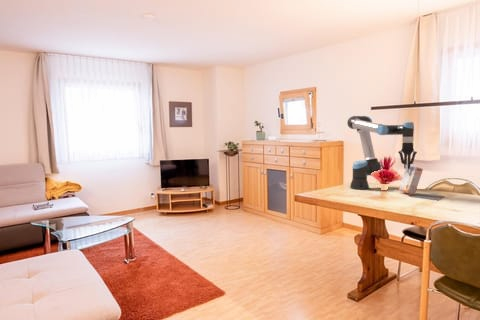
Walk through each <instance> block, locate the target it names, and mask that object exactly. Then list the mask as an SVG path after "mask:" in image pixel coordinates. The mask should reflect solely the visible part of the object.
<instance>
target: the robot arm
mask: <svg viewBox="0 0 480 320" xmlns="http://www.w3.org/2000/svg"><path fill="white" fill-rule="evenodd" d="M346 122H347V123H346V124H347V126H348V127H349V128H350V129H352V130H356V132H357V133H358V134H359V138H360V142H361V147H362V153H363V156H364V157H363V158H364V160H357V161H354V162H353V163H352V179H351V182H350V185H349V186H350V187H349V188H350V189H352V190H361V191H362V190H363V191H364V190H365V191H366V190H369V189H370V185H369V182H368V177H369V176H372V175H371V173H372V172H374V171H378V170H381V169H382V170H383V167H382V168H381V165H380V163H381V162H380V161H379V159H378V158H377V157H376V154H375V151H374V145H373V142H372V137H371V133H375V134H378V135H379V136H393V135H395V136H396V135H397V136H398V135H400V136H401V135H402V141H401V142H402V143H401V146H402V147H401V149H400V150H398V153H399V157H400V162H401V165H402V164H403V169H405V170H404V173H409V169H410V166H411V165H413V164H414V162H415V157H416V155H417V153H418V151H416V150H415V149H414V139H415V138H414V134H415V132H414V130H415V124H414V122H413V121H404V122H403V123H402V124H394V125H393V124H392V125H390V124H382V123H376V122H373V120H372V119H371V117H369V116H367V115H353V116H350V117H348V119H347V121H346Z"/></svg>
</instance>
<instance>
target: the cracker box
mask: <svg viewBox="0 0 480 320" xmlns="http://www.w3.org/2000/svg"><path fill="white" fill-rule="evenodd" d="M423 171H424V168H421V167H418V166H411V165H410V169H409V173H405V172H404V174H403V176H402V180H401V182H400V185H399V188H398V191H399V192H402V193H406V194H409V195H415V194H416V192H417V188H418V186H419V183H420V179H421V177H422V173H423Z"/></svg>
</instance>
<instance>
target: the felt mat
mask: <svg viewBox="0 0 480 320" xmlns="http://www.w3.org/2000/svg"><path fill="white" fill-rule="evenodd" d="M408 197H410V198H415V199H424V200H432V201H439V200H442V199H444V198H445V196H441V195H435V194H427V193H419V192H417V193H416V192H415V195H412V194H410V195H409V196H408Z"/></svg>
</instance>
